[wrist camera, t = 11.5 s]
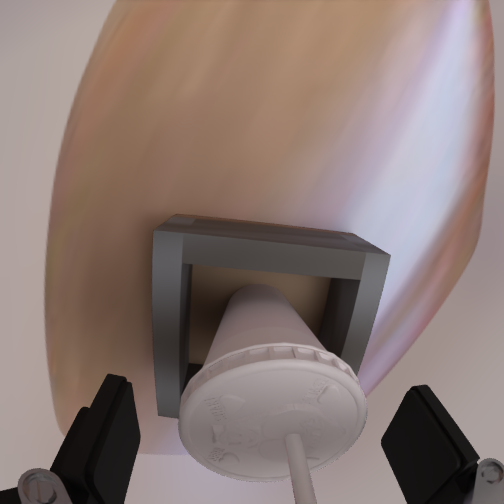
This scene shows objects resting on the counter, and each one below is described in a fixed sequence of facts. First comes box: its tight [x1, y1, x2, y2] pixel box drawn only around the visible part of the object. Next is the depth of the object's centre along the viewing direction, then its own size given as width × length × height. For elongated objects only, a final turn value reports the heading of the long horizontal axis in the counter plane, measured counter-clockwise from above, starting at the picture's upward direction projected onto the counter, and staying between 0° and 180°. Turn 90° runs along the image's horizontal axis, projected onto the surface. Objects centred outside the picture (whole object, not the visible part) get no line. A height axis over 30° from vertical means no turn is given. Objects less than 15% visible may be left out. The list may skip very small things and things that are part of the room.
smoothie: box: [178, 284, 368, 504], centre depth 11 cm, size 6×6×14 cm
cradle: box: [152, 214, 391, 419], centre depth 17 cm, size 11×11×5 cm
